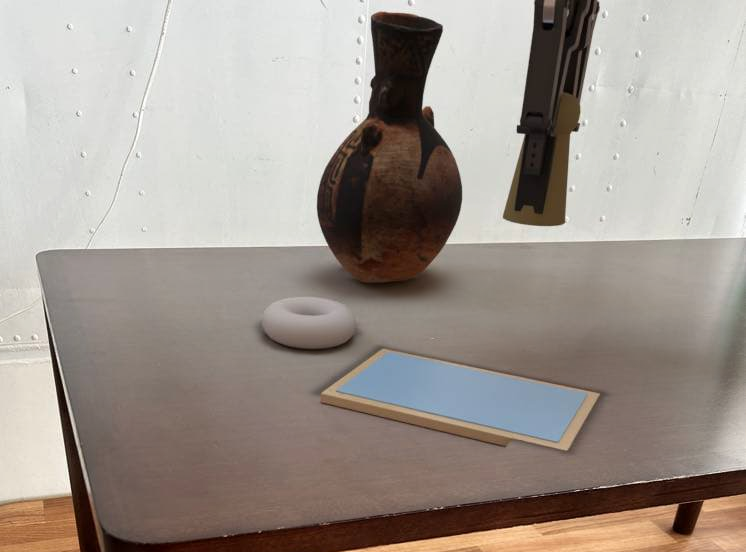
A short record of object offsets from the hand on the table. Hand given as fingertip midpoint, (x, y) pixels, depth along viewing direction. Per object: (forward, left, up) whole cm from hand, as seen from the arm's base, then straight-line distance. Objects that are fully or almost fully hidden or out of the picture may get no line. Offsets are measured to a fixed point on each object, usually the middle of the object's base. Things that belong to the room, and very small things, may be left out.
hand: (535, 207), depth 79 cm
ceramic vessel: (+23, -19, -15) cm, 33 cm away
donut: (+20, +8, -15) cm, 26 cm away
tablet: (0, +16, -15) cm, 22 cm away
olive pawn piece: (0, 0, -1) cm, 1 cm away
